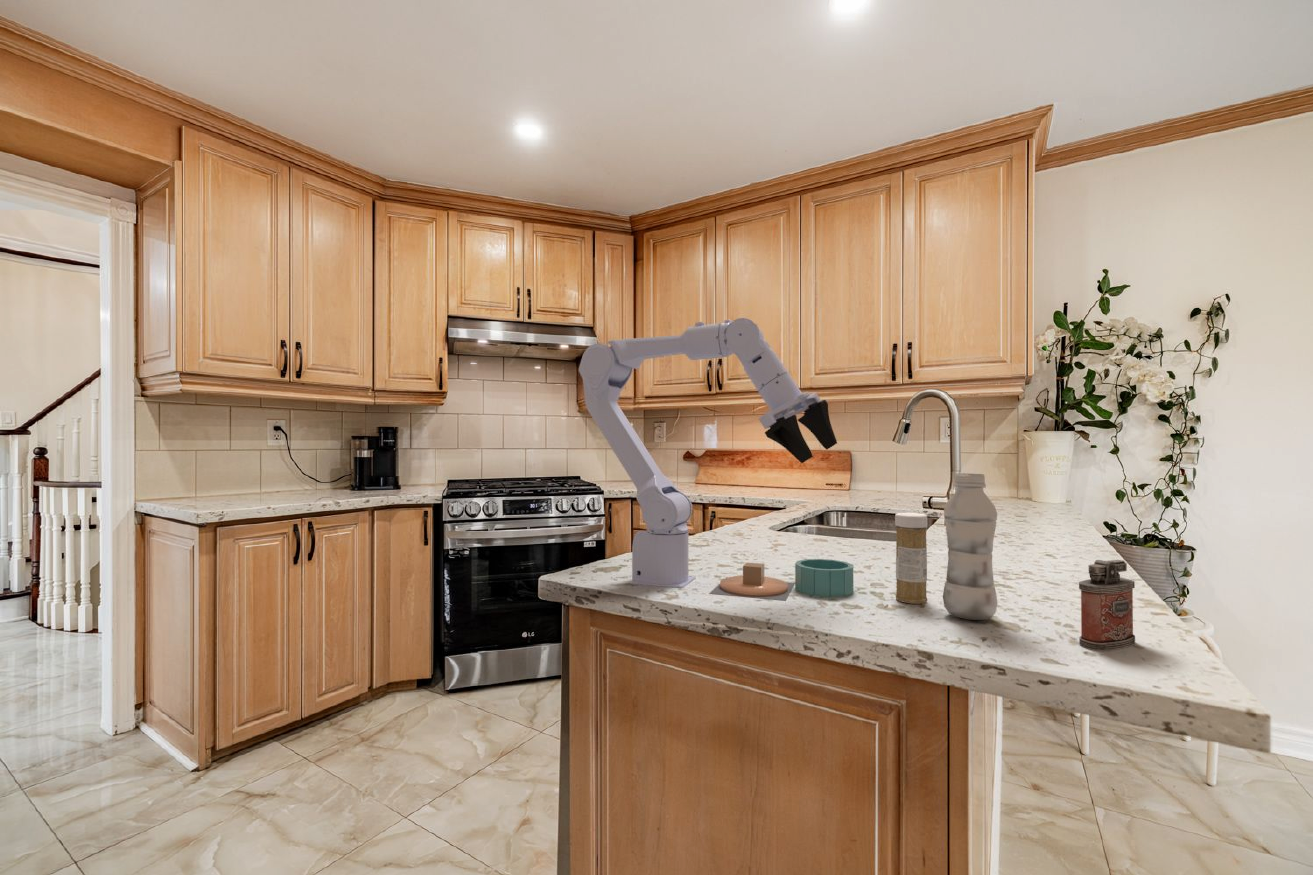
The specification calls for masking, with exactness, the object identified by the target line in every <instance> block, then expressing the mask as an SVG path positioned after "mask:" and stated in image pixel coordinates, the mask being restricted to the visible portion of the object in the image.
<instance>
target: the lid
mask: <svg viewBox="0 0 1313 875" xmlns="http://www.w3.org/2000/svg"><path fill="white" fill-rule="evenodd" d="M727 577H728V576H727ZM786 582H787V581H784V580H782V579H778V578H776V577H770V576H765V563H759V562H758V563H757V562H745V563H744V564H743V565H742V575H737V576H736V575H735V576H729V577H728V578H726V577H725V578H723V579H721V580H720V582H719V584H720V588H721V589H722V590H723V591H725V592H728V593H732V594H736V595H743V596H756V597H764V596H775V595H781V594H784V593H786V592H787V591H788V584H787V583H786Z"/></svg>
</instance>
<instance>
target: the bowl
mask: <svg viewBox="0 0 1313 875" xmlns="http://www.w3.org/2000/svg"><path fill="white" fill-rule="evenodd" d="M794 568H795V569H794V578H795V580H794V583H795V585H794V586H795V588H794V589H795V590H796V591H798V592H799V593H801V594H804V595H809V596H813V597H819V598H820V597H821V598H844V597H849V596H852V595H854V564H852V563H849V562H847V561H843V560H836V559H829V558H828V559H826V558H806V559H800V560H796V561H795V566H794Z"/></svg>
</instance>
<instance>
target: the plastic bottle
mask: <svg viewBox="0 0 1313 875" xmlns="http://www.w3.org/2000/svg"><path fill="white" fill-rule="evenodd" d="M985 477H986V476H985V474H983V473H968V472H967V473H961V472H960V473H959V472H958V473H954V483H953V487H954V488H955V487H956V489H955V492H954V493H953V494H952V495H951V497H950V498H949V499H948V501H947V502H946V504H945V505H944V506H945V507H944V509H943V516H944V524H945V525H944V526H945V531H946V537H947V538H946V540H947V541H946V542H947V549H948V551H947V557H948V558H947V566H946V568H947V569H946V579H945V580H946V581H945V583H944V586H943V594H942V599H943V600H942V601H943V605H944V606H943V607H944V608H945V610H946V611H947V613H948V614H950V615H951V616H954V617H957V618H962V619H965V620H970V621H986V620H991V619H992V618H993V617H994V615H995V614H996V612H997V608H998V597H997V596H998V595H997V591H996V590H997V589H996V587H995V586H994V585H995V583H994V582H995V581H994V571H993V570H994V567H993V551H994V538H995V535H996V534H995V532H996V527H997V521H998V512H997V508H996V506H995V505H994V503H993V502H992V500H991V499H990V498H989V497H988V495H987V494H986V493H985V492H984V489H985V488H986V486H987V485H986V481H985V480H986V478H985Z"/></svg>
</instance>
